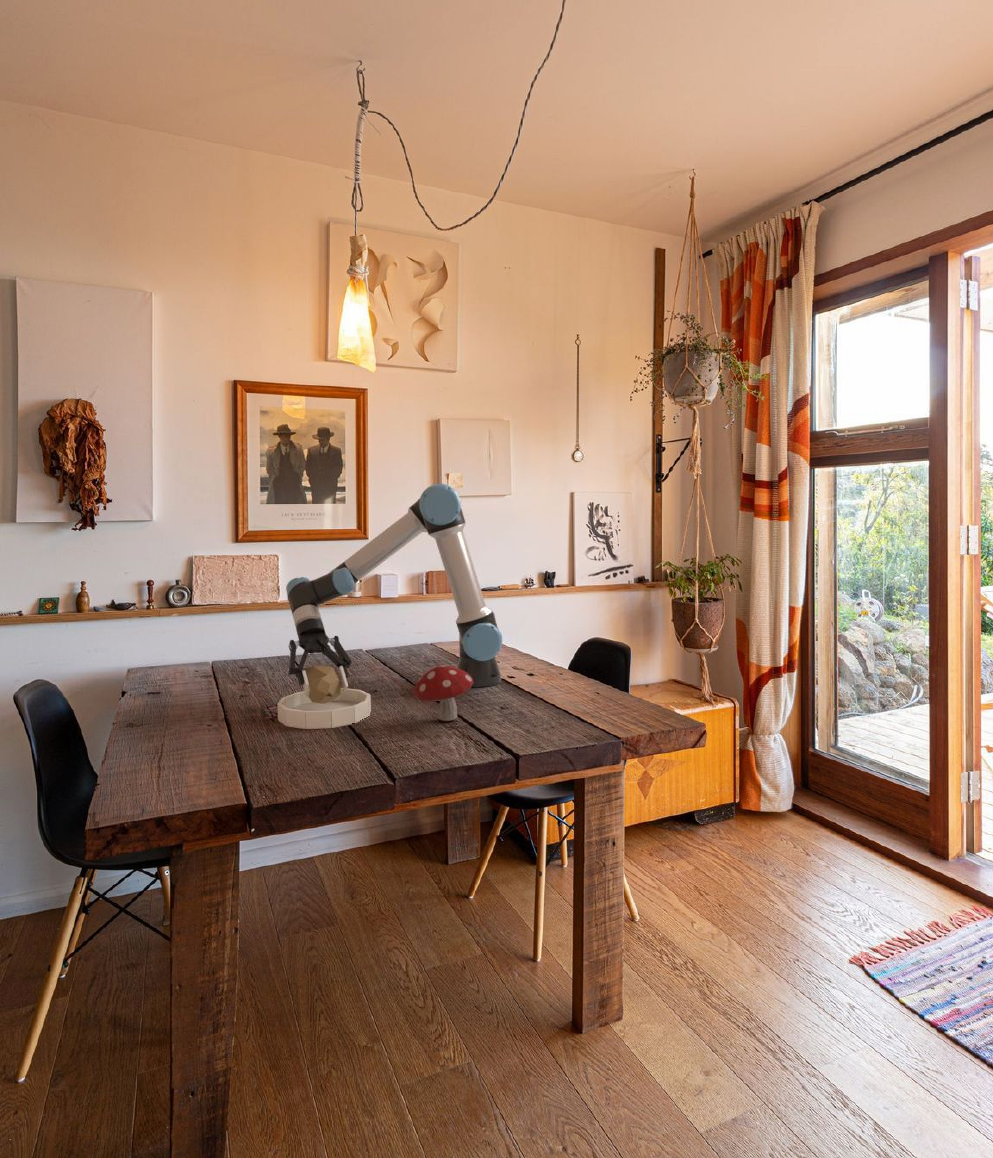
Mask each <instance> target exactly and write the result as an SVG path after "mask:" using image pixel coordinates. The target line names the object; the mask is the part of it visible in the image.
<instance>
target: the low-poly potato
mask: <svg viewBox="0 0 993 1158" xmlns="http://www.w3.org/2000/svg"><path fill="white" fill-rule="evenodd" d="M304 670H305V671H306V675H307V679H308V683H309V687H310V694H309V696H308V697H309V698H310V700H311V701H312V702H316V703H321V704H325V703H327V702H330V701H332V700H333V699H335V698H336V697H338V696H339V695H341V688H342V684H341V681H340V677H339V674H338V672H336V670H335V668H334V667H333V666H329V665H324V664H317V665H314V666H308V667H303V669H302V671H304ZM301 687H302V689H303V690H304V687H303V685H301Z"/></svg>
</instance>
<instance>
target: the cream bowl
mask: <svg viewBox="0 0 993 1158" xmlns="http://www.w3.org/2000/svg"><path fill="white" fill-rule="evenodd" d="M371 700H372V695H371V694H370V693H367V692H366V691H363V690H362V689H356V688H347V691H343V688H342V687H341V695H339V696H338V697H336V698H335V699H333V700H332V701H330V702H327V703H325V704H321V703H316V702H312V701H311V700H310V698H309V697H306V695H305V691H297V692H294V693H292V694H289V695H287V696H283V697H281V699H280V700H279V701H278V703H277V704H276V705H277V721H279V722H280V723H281V724H282V725H284V726H285V727H290V728H297V729H302V730H303V729H305V730H314V729H316V730H317V729H334V728H339V727H343V726H351V725H353V724H352V723H355V724H357V723H360V722H361V721H363V720H365V719H364V718H366V717H368V716H369V717H370V715H371V712H372V701H371ZM369 717H368V718H369ZM362 719H363V720H362ZM366 719H367V718H366ZM360 720H361V721H360Z"/></svg>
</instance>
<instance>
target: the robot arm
mask: <svg viewBox="0 0 993 1158" xmlns="http://www.w3.org/2000/svg"><path fill="white" fill-rule="evenodd" d="M461 504H462V501H461V498H460V496H459V493H458V492H457V491H456V490H455V488H453V487H451V486H449V485H447V484H444V483H436V484H432V485H430V486H428V487H426V488H425V489H424V490H423V491H422V494H421V495H420V497H419V498H418V500H416V502H414V503H413V504H412V505H410V506H409V507H408V508H407V509H408V510H407V513H406V514H404V515H403V516H401V518H399V519H397V520H396V521H395V522H394V523H393V524H391V525H390V526H389V527H387V528H386V529H385V530H383V531H382V532H381V533H379V534H378V535H376V537H374V538H373V539H372V540H370V541H369V542H367V543H366V544H365V545H364V546H362V547H361V548H360V549H358V550H357V551H356V552H354V553H353V554H352V555H351V556H350V557H348V558H347V559H345V560H344V561H343V562H341V563H340V564H338V566H336V567H335V568H333V569H332V570H330V571H329V572H328V573H326V574H325V575H322V576H319V577H318V578H315V579H311V580H310V579H309V578H308V577H304V576H301V577H295V578H292V579H290V581H288V582H287V584H286V596H287V601H288V604H289V607H290V610H291V615H292V618H293V623H294V626H295V628H296V629H295V630H296V634H297V638H298V640H294V639H290V640H289V644H288V648H289V663H288V664H289V665H288V666H289V667H288V674H289V675H295V677H296V678H297V681H298V684H299V685H300V686H302V685H303V687H304V689H303V690H304V691H305V695H306V697H308V696H309V694H310V687H309V683H308V679H307V675H306V671H305V670H304V671H302V669H303V668H305V667H304V666H305V663H306V661H307V658H308V656H309V654H310V655H313V654H322V655H323V656H325V657H327V659H329V660H330V662H332V663H333V664H334V665H335V666H336V668H338V670H337V675H338V677H339V679H340V681H341V688H343V691H347V689H349V683H348V677H349V672H348V671H349V670H348V669H349V668H350V667H351V664H352V660H351V658H350V656H349V655H348V653H347V652H346V650H345V649H344V647H343V646H342V644H341V642H340V638H339V636H338V635H334V637H329V636H328V635H327V633H326V630H325V625H324V623H323V618H322V616H321V612H320V610H319V606H320V605H323V604H325V603H328V602H330V601H332V600H335V599H337V598H339V597H342V596H346V595H347V594H349V593H351V592H354V591H355V590H356V583H358V582H359V581H360V580H362V579H363V578H364V577H366V575H368V574H370V572H372V571H374V569H376V568H377V567H379V566H380V565H381V564H383V562H385V561H387V560H388V559H389V558H391V557H392V556H393V555H394V554H395V553H397V552H398V551H400V549H403V548H404V547H405V546H406V545H407V544H409V543H410V542H412V541H413V540H414V539H415V538H417V537H419V535H421V534H422V533H427V534H428V536H430V537H431V538H433V539H434V540H435V543H436V546H437V549H438V551H439V553H438V554H439V555H440V559H441V562H442V565H443V569H444V572H445V575H446V579H447V580H448V581H447V582H448V584H449V588H450V591H451V594H452V597H453V600H454V603H455V606H456V610H457V613H458V615H457V618H456V620H455V623H456V626H457V630H458V636H459V637H458V640H459V642H458V643H459V648H458V649H459V660H458V663H457V666H456V668H459V669H461V670H463V671H465V672H467V673H468V674H469V675H470V676H471V677H472V679H473V681H474V683H473V685H472V686H471V688H473V687H474V688H483V687H484V688H485V687H491V686H492V687H493V686H495V685H499V684H500V683H501V682H502V674H501V671H500V669H499V665H498V661H497V659H496V656H497V655H498V654H499V652H500V651H501V649H502V645H503V635H502V633H501V631H500V629H499V627H498V623H497V621H496V620H497V619H496V614H495V612H494V611H493V609H492V608H490V607H488V606H486V602H485V599H484V595H483V593H482V590H481V586H480V582H479V579H478V575H477V571H476V569H475V567H474V563H473V560H472V556H471V553H470V551H469V549H470V548H469V547H468V542H467V540H466V537H465V533H464V528H465V526H466V524H467V522H466V519H465V516H464V513H463V509H462V505H461ZM328 643H329V644H330V645H331V646H330V645H329V644H328ZM298 646H299V647H300V648H301V649H303V653H302V656H301V659H300V662H299V664H298V666H297V667H296V658H297V656H296V655H297V649H298ZM331 647H333V649H334V650H333V649H332V648H331ZM303 687H302V688H303Z"/></svg>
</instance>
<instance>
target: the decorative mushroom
mask: <svg viewBox="0 0 993 1158" xmlns="http://www.w3.org/2000/svg"><path fill="white" fill-rule="evenodd" d="M473 683H474V681H473V679H472V677H471V676H470V675H469V674H468V673H467V672H465V671H463V670H461V669H459V668H457V666H451V665H437V666H435V667H432V668H431V669H430V670H428V671H426V672H425V673H424V674H422V675H421V676H420V678H419V679H418V680H417V681H416V683H415V685H414V687H413V694H414V696H415V698H416V699H419V700H420V701H427V702H436V701H439V705H438V708H437V709H438V711H437V715H438V716H437V719H438V720H440V721H443V722H449V721H454V720H456V719H457V718H458V707H457V706H458V705H457V703H456V700H455V697H458V696H461V695H464V694H465V693H466V692H468V691H469V690H470V689H471V688H472V687H471V686H472V685H473Z"/></svg>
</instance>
